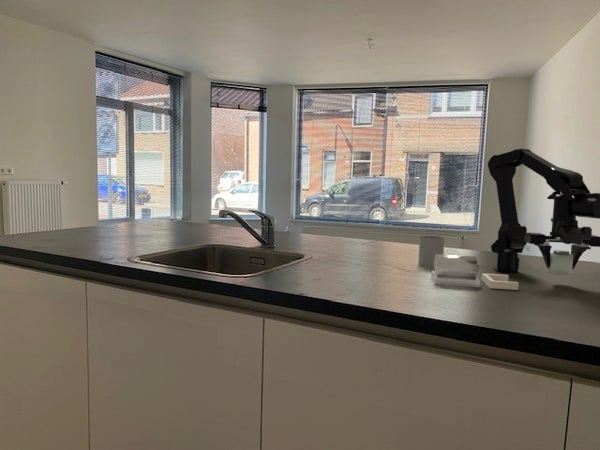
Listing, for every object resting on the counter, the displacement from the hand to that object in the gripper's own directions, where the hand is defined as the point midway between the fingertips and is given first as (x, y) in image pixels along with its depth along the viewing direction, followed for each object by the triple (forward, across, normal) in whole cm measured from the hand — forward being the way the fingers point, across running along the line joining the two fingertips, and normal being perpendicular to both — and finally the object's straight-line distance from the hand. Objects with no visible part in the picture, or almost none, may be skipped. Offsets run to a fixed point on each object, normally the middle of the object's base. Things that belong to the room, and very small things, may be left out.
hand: (559, 268), depth 122 cm
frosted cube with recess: (+1, 0, 0) cm, 1 cm away
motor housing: (+5, -30, -5) cm, 31 cm away
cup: (+5, -34, +21) cm, 40 cm away
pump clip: (+5, -18, -5) cm, 19 cm away
